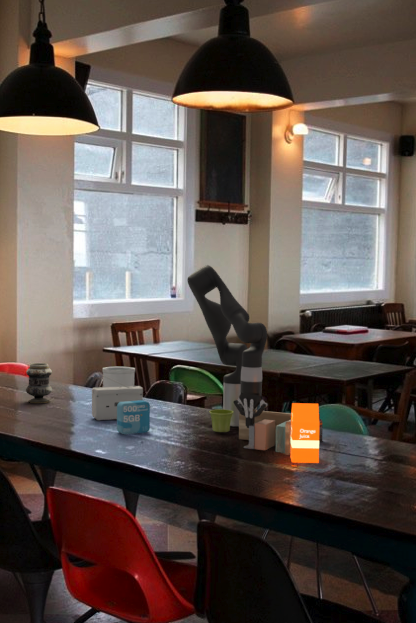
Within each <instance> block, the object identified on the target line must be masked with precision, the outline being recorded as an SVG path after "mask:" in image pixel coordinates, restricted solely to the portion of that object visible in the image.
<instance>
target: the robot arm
mask: <svg viewBox="0 0 416 623" xmlns="http://www.w3.org/2000/svg"><path fill="white" fill-rule="evenodd" d="M187 284H188V286H189V289H190V291H191V293H192V294H193V296H194V298H195V300H196V302H197V304H198V306H199V307H200V310H201V312H202V313H201V314H202V315H203V318H204V320H205V323H206V325H207V327H208V329H209V331H210V334H211V336H212V339H213V341H214V344H215V347H216V350H217V354H218V357H219V360H220V361H221V363H222V364H223V365H224V366H229V367H230V366H231V367H235V370H234V371H233V372H230V373H228V374H225V375H224V376H223V404H222V405H223V407H222V408H223V409H225V410H231V411H233V412H234V413H233V414H232V417H231V423H230V427H239V412H240V414H241V415H243V416H245V417H246V426H247V428H249V426H250V425H252V424H254V422H255V417H257V416H260V414H261V413H262V412H263V411H265V410H266V408H267V407H268V406H269V403H268V402H265V401H264V400H263V395H262V392H263V391H262V390H263V388H262V386H263V367H262V366H263V353H264V351H265V348H266V347H265V346H266V343H267V340H268V331H267V330H268V329H267V327H266V325H265V324H264V323H261V322H250V315H249V313H248V311H247V310H245V308H244V307H243V306H242V305H241V303H239V301H238V300H237V299H236V298H235V296H233V293H232V292H231V291H230V289H229V288H228V286H227V284H226V283H225V282H224V281H223V279H222V278H221V277H220V275H219V274H218V272H217V271H216V270H215V269H214V268H213V267H212V266H211V265H209V264H205V265H204V266H201V267H200V268H199V269H197V270H195V271H194V272H193V273H191V274H189V276H188V277H187ZM214 289H217V290H218V293H219V299H220V300H219V303H218V302H216V301H213V300H211V299H209V298H208V297H206V295H207V294H209V293H210V292H212V291H213V290H214ZM232 327H233V330H234V332H235V333H236V336H237V338H238V339H239V340H240V342H242V343H236V342H235V343H233V342H229V341H228V339H227V337H228V335H229V332H230V330H231V328H232ZM246 344H250V346H249V347H248V346H247V345H246ZM258 407H259V408H258ZM257 408H258V409H257ZM256 410H258V411H257V412H256Z"/></svg>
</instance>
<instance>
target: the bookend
mask: <svg viewBox="0 0 416 623" xmlns="http://www.w3.org/2000/svg"><path fill="white" fill-rule="evenodd" d="M259 422H260V421H259ZM257 423H258V422H257ZM243 448H244V449H249V450H256V449H255V424H252V425H250V426H249V440H248V444H246V445H244V446H243Z"/></svg>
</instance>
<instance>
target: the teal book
mask: <svg viewBox="0 0 416 623" xmlns="http://www.w3.org/2000/svg"><path fill="white" fill-rule="evenodd" d="M286 422H287V421H286ZM286 422H284V423H281V424H279V425H277V426H276V443H275V452H276V453H281V454H282V453H285V428H286Z"/></svg>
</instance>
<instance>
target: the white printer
mask: <svg viewBox="0 0 416 623" xmlns="http://www.w3.org/2000/svg"><path fill="white" fill-rule="evenodd" d="M97 374H98V375H101V376H102V377H103V376H104V375H103V374H101V373H100V372H98V373H97ZM104 377H106V376H104ZM106 378H108V377H106ZM108 379H110V378H108ZM110 380H112V381H114V382H117V381H115V380H113V379H110ZM117 383H119V382H117ZM119 384H121V383H119ZM121 385H123V384H121ZM143 392H144V388H143V387H142V386H141V385H134V386H125V385H123V387H103V386H102V387H100V386H99V387H92V388H91V416H92V417H93V418H94V419H95V420H96V421H110V420H117V404H118V403H119V402H125V401H138V400H143V398H144V397H143V396H144V393H143ZM143 401H144V400H143Z"/></svg>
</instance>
